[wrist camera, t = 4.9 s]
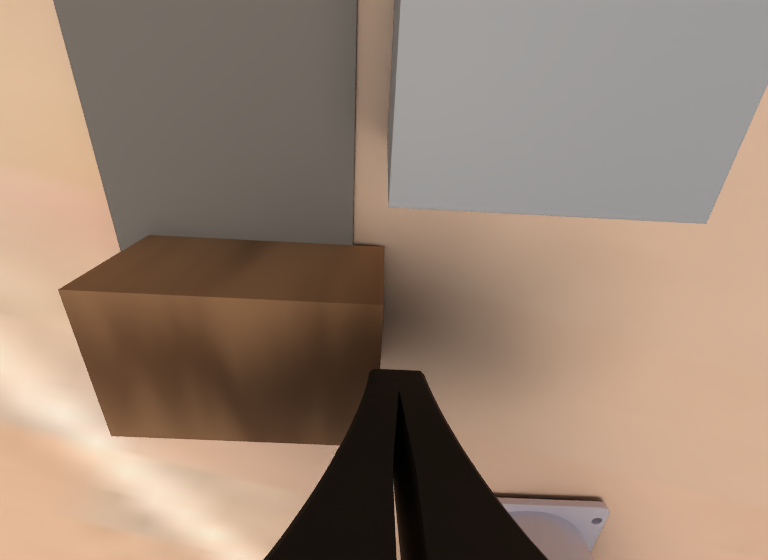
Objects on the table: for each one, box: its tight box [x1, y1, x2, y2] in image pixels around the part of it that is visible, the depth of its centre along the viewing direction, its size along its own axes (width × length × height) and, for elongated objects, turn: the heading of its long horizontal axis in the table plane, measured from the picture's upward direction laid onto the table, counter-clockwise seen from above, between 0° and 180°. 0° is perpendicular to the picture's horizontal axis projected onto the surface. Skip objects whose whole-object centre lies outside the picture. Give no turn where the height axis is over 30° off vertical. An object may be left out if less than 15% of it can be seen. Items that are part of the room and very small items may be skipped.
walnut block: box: [58, 235, 384, 445], centre depth 12 cm, size 5×4×8 cm
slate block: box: [387, 0, 768, 224], centre depth 7 cm, size 5×4×8 cm
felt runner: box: [53, 0, 358, 251], centre depth 12 cm, size 18×8×1 cm, turn 177°
